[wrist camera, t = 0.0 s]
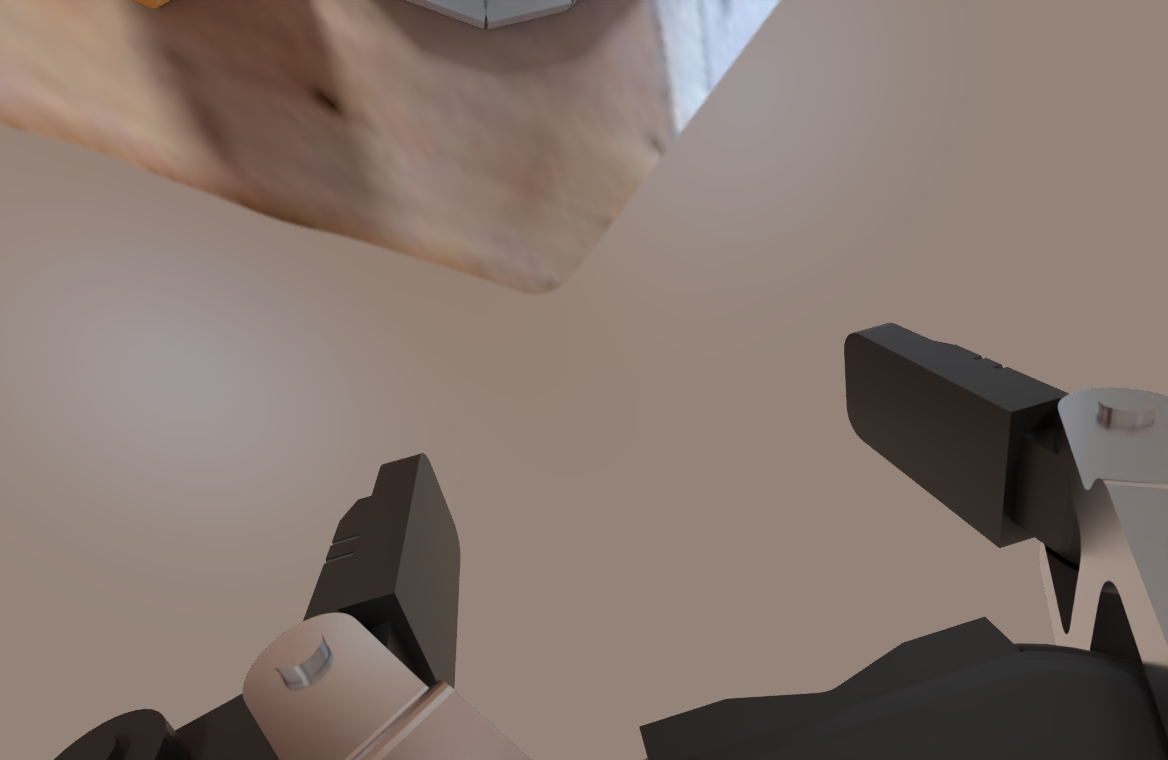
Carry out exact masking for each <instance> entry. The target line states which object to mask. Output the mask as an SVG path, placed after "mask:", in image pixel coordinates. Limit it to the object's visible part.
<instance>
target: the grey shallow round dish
mask: <svg viewBox="0 0 1168 760" xmlns="http://www.w3.org/2000/svg"><path fill="white" fill-rule="evenodd" d="M406 1H409V2H411V3H414V4H417V5H419V6H422V7H425V8H428V9H430V10H433V11H436V12H438V13H440V14H442V15H445V16H449V17H452V18H455V19H457V20H460V21H463V22H465V23H468V24H471V25H473V26H476V27H479V28H481V29H484V27H485V24H486V25H487V29H493V28H497V27H501V26H505V25H510V24H514V23H518V22H524V21H528V20H532V19H535V18H539V17H543V16H548V15H552V14H556V13H560V12H564V11H567V9H568V8H569V9H570V8H571V7H572V6H573V5H574V4H575V3H576V2H577V1H578V0H406Z"/></svg>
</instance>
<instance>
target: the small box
mask: <svg viewBox="0 0 1168 760" xmlns="http://www.w3.org/2000/svg"><path fill="white" fill-rule="evenodd" d="M133 1H135V2H137V3H140V4H142V5H145V6H147V7H149V8H152V9H155V8H158V7H160V6H161V5H163V4H165V3H167V2H168V1H170V0H133Z"/></svg>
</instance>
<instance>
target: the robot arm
mask: <svg viewBox="0 0 1168 760" xmlns="http://www.w3.org/2000/svg"><path fill="white" fill-rule="evenodd" d="M844 354H845V355H844V357H845V378H846V398H847V399H846V400H847V412H848V417H849V420H850V423H851V425H852V427H853V429H854V431H855V432H856V434H857V435H858V436H859V437H860V439H862V440H863V441H864V442H865V443H867V444H868V445H869V446H870V447H872V448H873V449H874V450H875V451H877V452H878V453H879V454H880V455H882V456H883V457H884V458H886V459H887V460H888V461H889V462H891V463H892V464H893V465H894V466H896V467H897V468H898V469H900V470H901V471H902V472H903V473H905V474H906V475H907V476H908V477H910V478H911V479H912V480H914V481H915V482H916V483H917V484H919V485H920V486H921V487H922V488H924V489H925V490H926V491H928V492H929V493H930V494H931V495H933V496H934V497H936V498H937V499H938V500H939V501H940V502H942V503H943V504H944V505H945V506H947V507H948V508H949V509H950V510H952V511H953V512H954V513H956V514H957V515H958V516H959V517H961V518H962V519H963V520H964V521H966V522H967V523H968V524H969V525H971V526H972V527H973V528H975V529H976V530H977V531H978V532H980V533H981V534H982V535H984V536H985V537H986V538H987V539H989V540H990V541H991V542H992V543H994V544H995V545H996V546H998V547H999V548H1001V547H1005V546H1008V545H1011V544H1014V543H1017V542H1021V541H1023V540H1027V539H1030V538H1034V537H1035V538H1037V539H1038V540H1039V541H1041V548H1040V557H1039V561H1040V568H1041V573H1042V578H1043V583H1044V588H1045V592H1046V597H1047V602H1048V607H1049V612H1050V617H1051V622H1052V627H1053V632H1054V637H1055V641H1056V645H1049V644H1013V643H1012V642H1011V641H1010V640H1009V639H1008V638H1007V637H1006V636H1005V635H1004V634H1003V633H1002V632H1001V631H999V630H998V629H997V628H996V627H995V626H994V625H993V624H992V623H991V622H990V621H989V620H988V619H987V618H986V617H983V618H979V619H976V620H973V621H970V622H967V623H964V624H961V625H957V626H954V627H951V628H948V629H945V630H942V631H939V632H935V633H932V634H929V635H926V636H923V637H920V638H917V639H913V640H911V641H907V642H904V643H902V644H900V645H899V646H897V647H896V648H894V649H893V650H891V651H890V652H888V653H887V654H885V655H884V656H882V657H881V658H879V659H878V660H876V661H875V662H873V663H872V664H870V665H869V666H867V667H866V668H865V669H863V670H862V671H860V672H859V673H857V674H856V675H854V676H853V677H851V678H850V679H848V680H847V681H845V682H844V683H842V684H841V685H839V686H838V687H836V688H834V689H832V690H830V691H827V692H822V693H811V694H796V695H779V696H764V697H748V698H733V699H725V700H722V701H719V702H715V703H712V704H709V705H706V706H703V707H700V708H696V709H693V710H690V711H687V712H685V713H681V714H678V715H675V716H671V717H668V718H665V719H662V720H659V721H656V722H653V723H649V724H646V725H643V726H640V731H641V735H642V738H643V742H644V746H645V749H646V753H647V757H648V758H646V759H645V760H1168V396H1165V395H1162V394H1158V393H1153V392H1150V391H1144V390H1138V389H1130V388H1114V387H1109V388H1108V387H1107V388H1091V389H1085V390H1080V391H1076V392H1073V393H1071V394H1068V393H1066V392H1064V391H1061V390H1059V389H1057V388H1055V387H1052V386H1050V385H1048V384H1045V383H1043V382H1040V381H1038V380H1036V379H1034V378H1032V377H1029V376H1027V375H1024V374H1022V373H1020V372H1018V371H1015V370H1013V369H1011V368H1008V367H1006V368H1003V367H1002V365H1001V364H999V363H997V362H994V361H992V360H990V359H987V358H985V359H982V357H981V356H980V355H978V354H976V353H973V352H971V351H969V350H967V349H964V348H962V347H960V346H957V345H952V344H948V343H942V342H937V341H932V340H930V339H928V338H926V337H923V336H921V335H919V334H917V333H914V332H912V331H910V330H908V329H905V328H903V327H901V326H899V325H896V324H893V323H887V324H883V325H880V326H876V327H873V328H869V329H865V330H862V331H858V332H855V333H852V334H850V335H848V337H847V338H846V341H845V345H844ZM332 543H333V545H332V546H330V549H329V552H328V554H327V557H326V564H324V565H323V568H322V571H321V574H320V576H319V579H318V582H317V585H316V587H315V590H314V593H313V596H312V598H311V601H310V604H309V607H308V609H307V612H306V615H305V617H304V620H303V622H301V623H299V624H297V625H295V626H294V627H292V628H290V629H289V630H287V631H286V632H284V633H283V634H281V635H280V636H279V637H278V638H276V639H275V640H274V641H273V642H272V643H271V644H270V645H268V646H267V647H266V648H265V650H264V651H263V652H262V653H261V654H260V655H259V656H258V658H257V659H256V660H255V662H254V663H253V664H252V666H251V668H250V669H249V671H248V673H247V675H246V678H245V680H244V685H243V693H242V694H241V695H239V696H237V697H236V698H234V699H232V700H230V701H228V702H227V703H225V704H223V705H221V706H219V707H217V708H216V709H214V710H212V711H210V712H208V713H206V714H204V715H203V716H201V717H199V718H197V719H195V720H193V721H192V722H190V723H188V724H186V725H185V726H182V727H181V728H179V729H177V730H174V729H173V728H172V727H171V725H170V724H169V723H168V721H167V720H166V719H165V718H164V716H163V715H162V714H161V713H159V712H158V711H155V710H152V709H141V710H135V711H131V712H128V713H124V714H122V715H120V716H117V717H115V718H113V719H110V720H108V721H106V722H104V723H102V724H101V725H99V726H97V727H96V728H94V729H92V730H91V731H89V732H88V733H86V734H85V735H83V736H82V737H81V738H79V739H78V740H76V741H75V742H74V743H73V744H71V745H70V746H69V747H68V748H66V749H65V750H64V751H63V752H62V753H61V754H60V755H58V756H57V757H56V758H55V759H54V760H532V759H531V758H530V757H529V756H528V755H527V754H526V753H525V752H523V751H522V750H521V749H520V748H519V747H518V746H517V745H516V744H515V743H513V742H512V741H511V740H510V739H509V738H508V737H507V736H505V734H503V733H502V732H501V731H500V730H499V729H498V728H496V726H494V725H493V724H492V723H491V722H490V721H489V720H488V719H487V718H486V717H484V716H483V715H482V714H481V713H480V712H479V711H478V710H477V709H476V708H474V707H473V706H472V705H471V704H470V703H469V702H468V701H467V700H465V699H464V698H463V697H462V696H461V695H460V694H459V693H458V692H457V691H455V690H454V683H455V661H456V639H457V618H458V617H457V616H458V594H459V573H460V546H459V540H458V535H457V531H456V528H455V524H454V522H453V519H452V517H451V514H450V511H449V509H448V506H447V504H446V501H445V499H444V497H443V494H442V491H441V489H440V486H439V483H438V481H437V478H436V476H435V473H434V471H433V469H432V466H431V463H430V461H429V459H428V458H427V456H426V455H425V454H424V453H421V454H418V455H414V456H411V457H408V458H404V459H400V460H397V461H393V462H389V463H386V464H383V465H381V467H380V470H379V473H378V476H377V480H376V483H375V487H374V490H373V493H372V496H369V497H366V498H362V499H359V500H358V501H357V502H356V503H355V504H354V505H353V506H352V507H351V508H350V510H349V511H348V512H347V513H346V514H345V516H344V517H343V518H342V519H341V520H340V522H339V524H338V527H337V530H336V533H335V535H334V538H333V541H332Z"/></svg>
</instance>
